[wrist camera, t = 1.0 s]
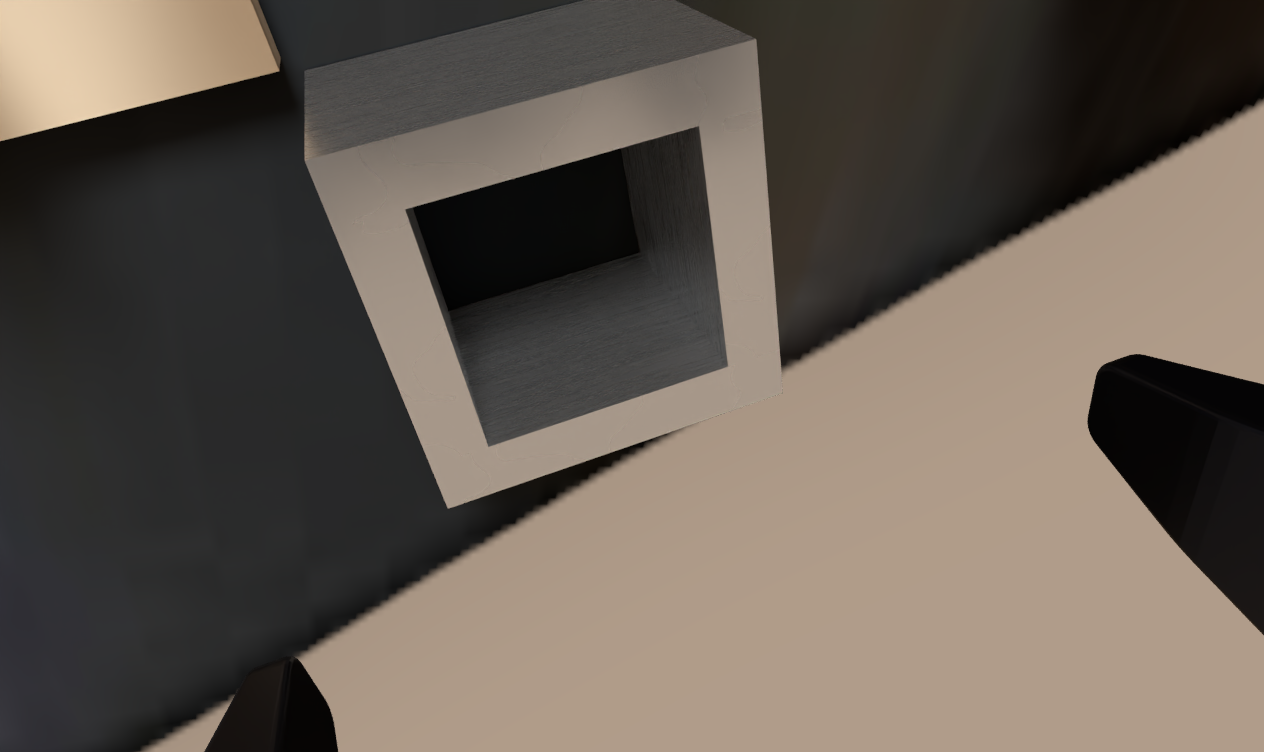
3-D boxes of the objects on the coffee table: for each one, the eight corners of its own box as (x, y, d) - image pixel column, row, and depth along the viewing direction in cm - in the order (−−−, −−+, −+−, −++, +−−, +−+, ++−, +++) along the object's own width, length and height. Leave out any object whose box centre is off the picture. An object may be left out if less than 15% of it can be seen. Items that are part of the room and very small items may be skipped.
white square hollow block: (643, -15, 16) (756, 39, 12) (686, 278, 20) (783, 393, 16) (304, 70, 15) (304, 160, 11) (417, 362, 19) (448, 508, 15)
